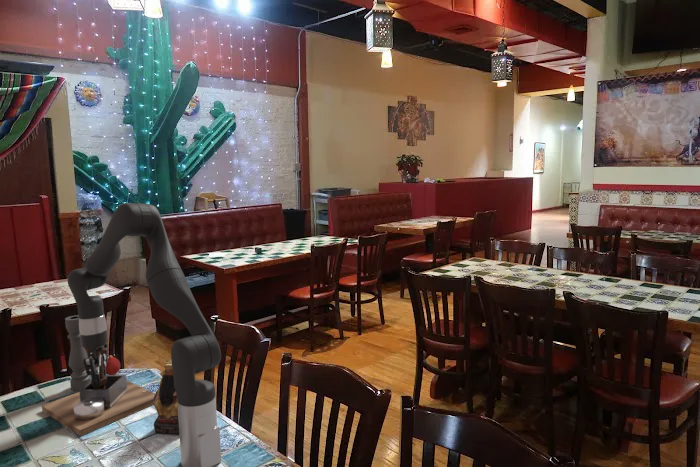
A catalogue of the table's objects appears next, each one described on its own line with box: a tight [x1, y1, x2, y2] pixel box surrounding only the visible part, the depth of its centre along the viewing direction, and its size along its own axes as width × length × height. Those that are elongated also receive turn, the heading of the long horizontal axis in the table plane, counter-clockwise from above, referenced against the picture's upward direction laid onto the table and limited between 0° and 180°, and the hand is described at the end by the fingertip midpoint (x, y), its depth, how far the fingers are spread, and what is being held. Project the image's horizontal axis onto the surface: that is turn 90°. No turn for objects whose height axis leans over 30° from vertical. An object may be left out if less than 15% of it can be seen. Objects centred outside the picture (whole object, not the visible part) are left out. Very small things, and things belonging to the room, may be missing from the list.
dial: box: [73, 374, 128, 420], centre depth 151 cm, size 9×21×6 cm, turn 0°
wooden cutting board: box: [41, 379, 156, 437], centre depth 153 cm, size 25×25×2 cm
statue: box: [153, 358, 179, 436], centre depth 138 cm, size 12×8×20 cm, turn 76°
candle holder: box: [64, 314, 91, 393], centre depth 165 cm, size 6×6×25 cm
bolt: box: [86, 347, 107, 389], centre depth 152 cm, size 6×5×15 cm
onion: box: [105, 355, 121, 375], centre depth 175 cm, size 6×6×8 cm
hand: (99, 381), depth 153 cm, fingers closed on bolt, 4 cm apart
